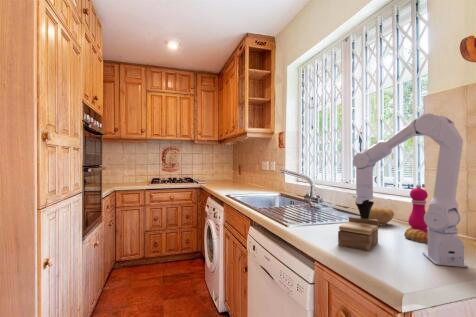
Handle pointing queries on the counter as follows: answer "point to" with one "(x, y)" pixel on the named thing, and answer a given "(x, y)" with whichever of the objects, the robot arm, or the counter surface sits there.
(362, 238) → the keepsake box
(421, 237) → the pastry
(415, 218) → the pepper mill
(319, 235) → the counter surface
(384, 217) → the potato
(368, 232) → the lid
